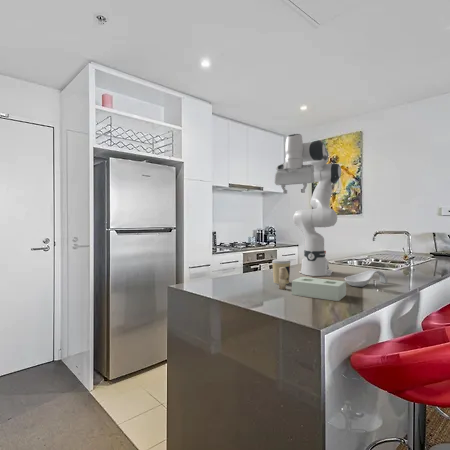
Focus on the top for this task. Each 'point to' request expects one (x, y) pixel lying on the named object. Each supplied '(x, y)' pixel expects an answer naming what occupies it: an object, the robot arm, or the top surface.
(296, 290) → the hole block
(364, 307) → the top surface
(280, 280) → the peg
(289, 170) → the robot arm
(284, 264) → the coffee cup
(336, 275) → the top surface
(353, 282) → the spoon rest
